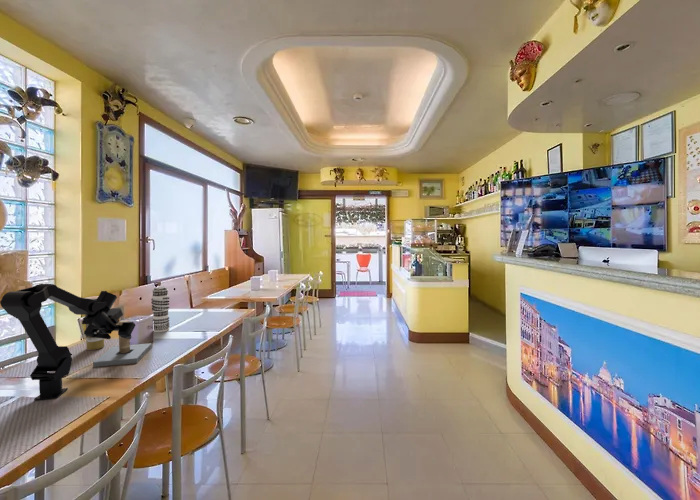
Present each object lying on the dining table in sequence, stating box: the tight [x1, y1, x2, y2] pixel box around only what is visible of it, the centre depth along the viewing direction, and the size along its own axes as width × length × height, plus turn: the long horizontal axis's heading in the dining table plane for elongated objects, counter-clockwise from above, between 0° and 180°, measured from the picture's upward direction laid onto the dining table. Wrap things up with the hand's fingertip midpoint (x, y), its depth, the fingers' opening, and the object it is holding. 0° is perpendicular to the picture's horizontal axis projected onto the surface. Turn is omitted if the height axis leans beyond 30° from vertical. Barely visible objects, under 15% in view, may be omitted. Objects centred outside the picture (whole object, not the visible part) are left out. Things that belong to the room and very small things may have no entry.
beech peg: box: [117, 320, 131, 354], centre depth 145 cm, size 4×4×16 cm
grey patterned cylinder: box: [84, 295, 105, 351], centre depth 155 cm, size 7×7×25 cm
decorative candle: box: [150, 286, 171, 333], centre depth 185 cm, size 9×9×25 cm
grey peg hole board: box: [92, 342, 153, 368], centre depth 146 cm, size 20×16×2 cm
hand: (120, 338), depth 143 cm, fingers open, 9 cm apart
